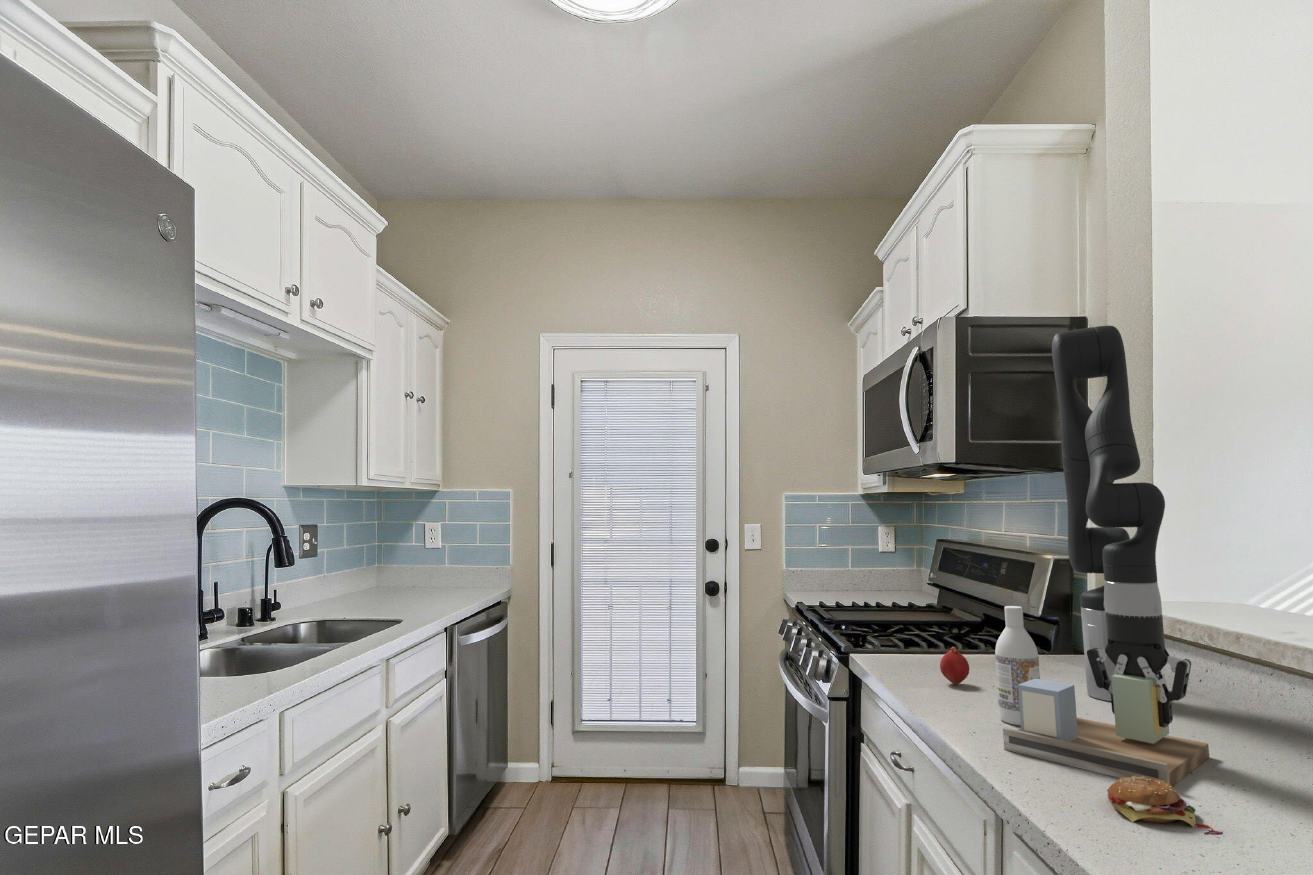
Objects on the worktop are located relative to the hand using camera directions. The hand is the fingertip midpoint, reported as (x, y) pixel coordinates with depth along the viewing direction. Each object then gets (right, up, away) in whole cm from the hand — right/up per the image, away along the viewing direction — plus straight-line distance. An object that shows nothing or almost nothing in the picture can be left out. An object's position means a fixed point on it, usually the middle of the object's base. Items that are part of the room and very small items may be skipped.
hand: (1142, 721), depth 112 cm
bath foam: (-10, -7, +17) cm, 21 cm away
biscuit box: (-13, -3, +2) cm, 14 cm away
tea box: (0, -2, 0) cm, 2 cm away
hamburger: (-12, -4, -23) cm, 26 cm away
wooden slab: (-6, -5, 0) cm, 7 cm away
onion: (-11, -9, +43) cm, 45 cm away
